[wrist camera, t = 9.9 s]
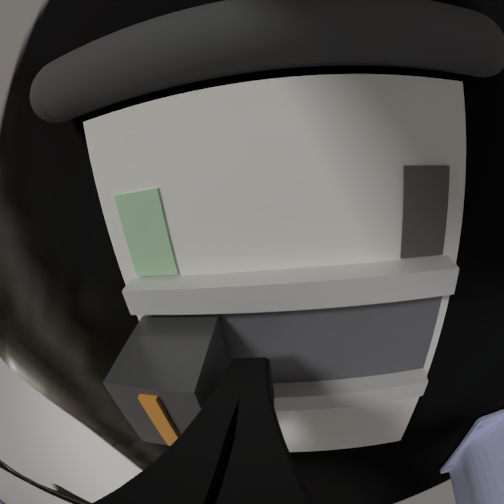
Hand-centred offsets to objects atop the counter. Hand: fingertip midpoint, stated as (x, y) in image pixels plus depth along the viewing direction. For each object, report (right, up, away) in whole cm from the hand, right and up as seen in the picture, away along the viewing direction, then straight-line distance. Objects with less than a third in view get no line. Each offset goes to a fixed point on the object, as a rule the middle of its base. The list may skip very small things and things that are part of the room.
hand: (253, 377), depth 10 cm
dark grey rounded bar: (0, +11, -2) cm, 11 cm away
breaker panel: (+2, +2, +3) cm, 3 cm away
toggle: (-2, 0, +2) cm, 3 cm away
